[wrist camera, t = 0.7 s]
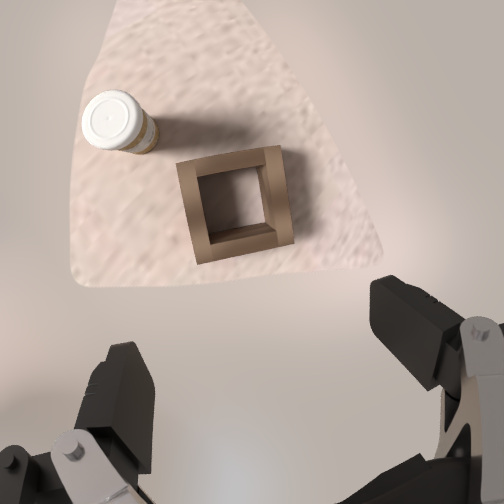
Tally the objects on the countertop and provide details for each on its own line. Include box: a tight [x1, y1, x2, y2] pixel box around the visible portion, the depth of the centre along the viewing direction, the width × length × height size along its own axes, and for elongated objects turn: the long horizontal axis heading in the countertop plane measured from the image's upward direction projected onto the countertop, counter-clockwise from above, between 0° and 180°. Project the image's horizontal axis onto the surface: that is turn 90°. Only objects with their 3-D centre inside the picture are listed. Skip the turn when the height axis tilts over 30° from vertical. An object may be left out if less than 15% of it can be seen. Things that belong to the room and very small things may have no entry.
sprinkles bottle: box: [82, 90, 159, 154], centre depth 24 cm, size 5×5×13 cm
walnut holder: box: [176, 145, 294, 265], centre depth 32 cm, size 10×10×5 cm
